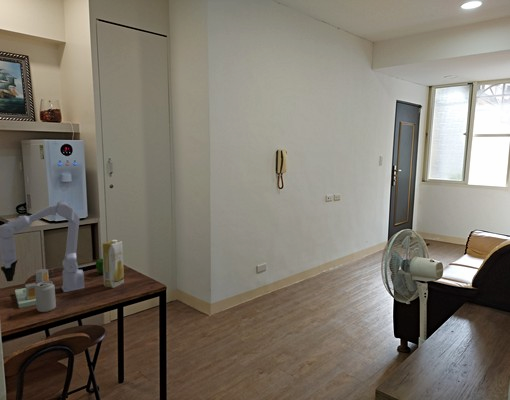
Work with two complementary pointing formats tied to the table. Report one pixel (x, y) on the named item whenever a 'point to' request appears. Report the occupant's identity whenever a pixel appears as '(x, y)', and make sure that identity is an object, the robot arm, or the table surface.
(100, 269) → the bell pepper
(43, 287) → the can
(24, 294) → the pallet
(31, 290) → the glass of amber drink
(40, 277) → the small drink carton
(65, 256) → the robot arm
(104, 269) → the juice carton
